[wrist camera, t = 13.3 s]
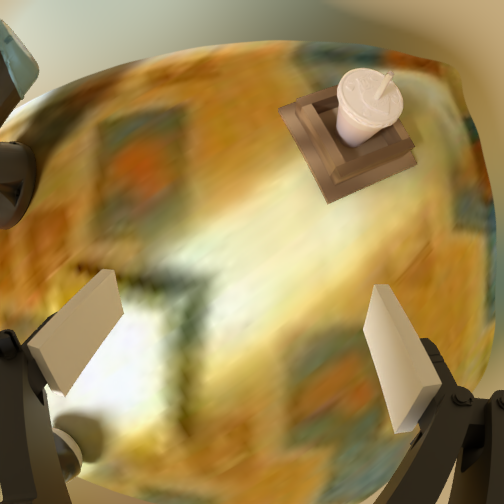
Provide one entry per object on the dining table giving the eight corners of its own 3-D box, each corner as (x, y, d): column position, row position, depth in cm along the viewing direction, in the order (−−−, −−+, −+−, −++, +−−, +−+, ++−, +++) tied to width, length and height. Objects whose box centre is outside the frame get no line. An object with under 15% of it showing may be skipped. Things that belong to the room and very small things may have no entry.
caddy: (278, 111, 33) (278, 93, 29) (364, 82, 33) (372, 64, 28) (327, 204, 33) (335, 196, 28) (414, 165, 32) (430, 154, 27)
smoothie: (344, 167, 32) (382, 113, 18) (313, 123, 32) (330, 51, 18) (385, 144, 31) (436, 88, 17) (355, 103, 32) (387, 33, 18)
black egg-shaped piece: (98, 450, 35) (49, 499, 20) (82, 473, 35) (40, 515, 20) (54, 409, 36) (-3, 444, 21) (42, 436, 36) (-6, 469, 21)
